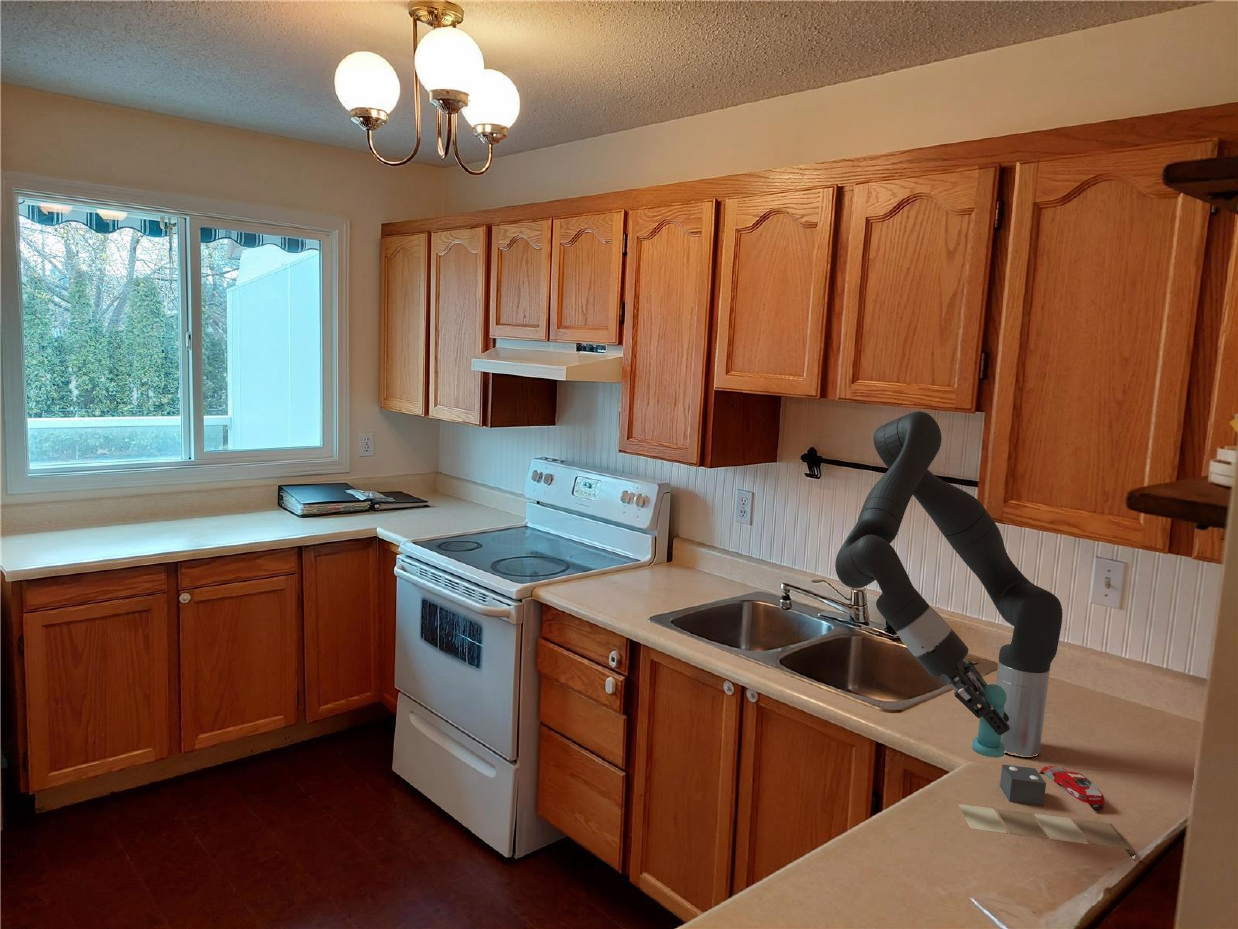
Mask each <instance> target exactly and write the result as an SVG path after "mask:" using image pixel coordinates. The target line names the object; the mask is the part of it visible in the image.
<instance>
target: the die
mask: <svg viewBox="0 0 1238 929" xmlns="http://www.w3.org/2000/svg"><path fill="white" fill-rule="evenodd" d="M1039 773H1040V772H1038V770H1037V769H1036V768H1034V767H1028V766H1027V767H1026V766H1017V765H1012V764H1011V765H1009V764H1004V763H1003V764H1002V765H1001V773H1000V782H999V787H1000V789H1001V791H1002V792H1003V794H1004V796H1005V797H1006V799H1007V800H1008V802H1009V803H1017V804H1025V805H1033V806H1041V807H1043V806H1044V805H1045V804H1044V803H1045V795H1046V787H1047V782H1046V781H1045V779H1044V778H1043V777H1042V776H1041V775H1042V774H1039Z"/></svg>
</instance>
